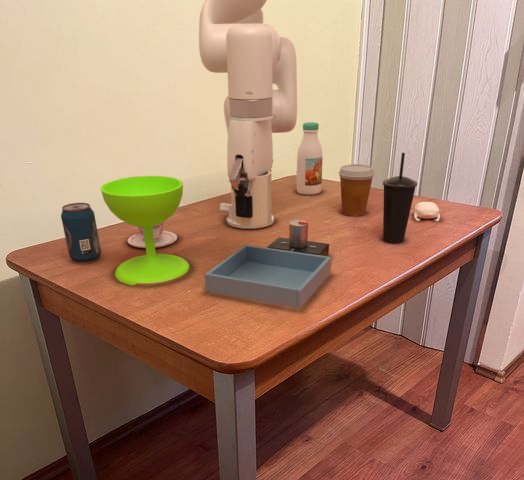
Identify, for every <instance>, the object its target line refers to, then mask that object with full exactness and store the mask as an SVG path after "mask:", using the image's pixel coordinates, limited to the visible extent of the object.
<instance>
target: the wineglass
mask: <svg viewBox="0 0 524 480" xmlns="http://www.w3.org/2000/svg"><path fill="white" fill-rule="evenodd" d="M99 189H100V192H101V195H102V198H103V201H104V203H105V204H106V206H107V208H108V209H109V211H110V212H111V213H112V214H113V215H114V216H115V217H116V218H117V219H119V220H120V221H122V222H124V223H126V224H128V225H131V226H134V227H138V226H139V227H143V232H144V240H145V247H146V248H145V254H142V255H139V256H134V257H131V258H128V259H127V260H125V261H123V262H121V263H120V264H119V265H118V266H117V267H116V270H115V272H114V276H115V279H116V280H117V281H119V282H120V283H123V284H125V285H130V286H136V285H138V284H155V283H157V284H158V283H163V282H167V281H171V280H174V279H177V278H179V277H182V276H183V275H185V274H187V272H188V271H189V269H190V264H189V262H188V261H187V260H186V259H185V258H183V257H181V256H177V255H174V254H168V253H156V248H155V245H154V237H153V228H152V226H155V225H157V224H160V223H163V224H164V222H167V220H168V219H169V218H171V217H172V216H173V215H174V214H175V213H176V211H177V210H178V208H179V206H180V204H181V202H182V198H183V194H184V193H183V192H184V182H183V181H182V180H181V179H179V178H176V177H172V176H167V175H166V176H165V175H138V176H129V177H122V178H118V179H113V180H110V181H107V182H106V183H104V184H102V185H101V187H100V188H99Z"/></svg>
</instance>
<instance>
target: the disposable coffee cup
mask: <svg viewBox="0 0 524 480" xmlns="http://www.w3.org/2000/svg"><path fill="white" fill-rule="evenodd" d="M375 175H376V173H375V171H374V167H373V166H372V165H371V166H370V165H367V164H358V163H357V164H355V163H353V164H345V165H342V166H340V168H339V171H338V176H339V182H340V195H341V196H340V197H341V212H342V214H343V215H345V216H350V217H358V216H359V217H361V216H363V215H365V214H366V211H367V207H368V200H369V196H370V193H371V187H372V182H373V178H374V177H375Z"/></svg>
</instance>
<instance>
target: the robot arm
mask: <svg viewBox="0 0 524 480" xmlns="http://www.w3.org/2000/svg"><path fill="white" fill-rule="evenodd" d="M266 3H267V0H205V1H204V2H203V4H202V7H201V9H200V14H199V22H198V23H199V24H198V50H199V57H200V60H201V64H202V65H203V67H204V69H206V71H208V72H210V73H215V74H219V73H220V74H225V73H227V90H228V91H227V93H228V95H227V96H226V97H225V98H224V102H223V115H224V122H225V127H226V131H227V147H226V149H227V150H226V151H227V152H226V154H227V155H226V156H227V157H226V158H227V160H226V161H227V162H226V163H227V165H226V167H227V176H228V181H229V183H230V194H231V203H227V202H220V204H219V212H220V213H226V214H228V216H227V217H226V224H227V225H228V226H230V227H232V228H235V229H241V230H242V229H243V230H256V229H262V228H267V227H270V226H272V225H273V224H274V223H275V216H274V215H273V214H272V221H271V222H270V223H269V224H266V225H262V226H251V227H250V226H243V225H240V224H238V223H236V218H235V204H236V216H237V217H244V218H252V217H253V206H252V196H250V192H251V186H252V180H254V179H255V178H256V177H257V176H262V175H263V174H265V173H267V171H268V170H270V171H271V172H272V168H273V163H274V158H273V157H274V151H273V147H274V146H273V145H274V144H273V134H283V133H289V132H291V131H293V130H294V129H295V127H296V124H297V119H298V77H297V76H298V69H297V66H298V65H297V62H298V61H297V52H296V48H295V45H294V43H293V41H292V40H291V39H289V38H288V37H284V36H280V34H279V33H278V31H277V30H276V28H275V27H274V26H273V25H271V24H269V23H264V12H263V10H262V8H264V5H266ZM273 84H274V85H275V86H276V87H277V89H274V88H273V86H274V85H273ZM241 175H247V176H248V177H247V178H244V177H240V176H241ZM240 181H241V182H247V183H246V188H245V187H244V185H243V184H242V183H240Z"/></svg>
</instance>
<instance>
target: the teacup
mask: <svg viewBox="0 0 524 480" xmlns="http://www.w3.org/2000/svg"><path fill="white" fill-rule="evenodd" d="M163 224H164V222H163V223H160V224H157V225H155V226H152V228H153V237H154V245H155V249H157V248H162V247H166V246H169V245H172V244H174V243H175V242H177V240H178V235H177V234H176V233H175V232H172V231H169V230H163V229H164V225H163ZM137 228H138V230H139V232H137V233H134V234H132V235H130V236H129V237H128V238H127V240H126V241H127V244H128V245H129V246H131V247H135V248H139V249H146V247H145V240H144V232H143V227H139V226H137Z"/></svg>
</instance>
